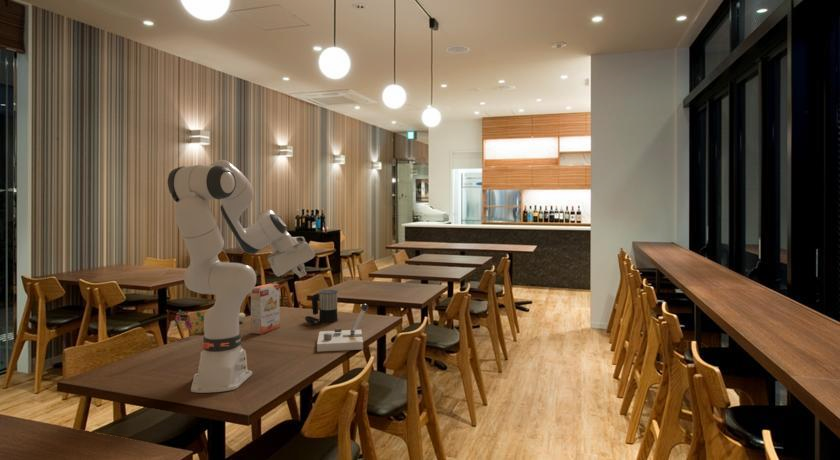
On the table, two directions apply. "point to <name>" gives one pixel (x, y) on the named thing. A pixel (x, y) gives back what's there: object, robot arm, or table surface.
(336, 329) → the rocker switch
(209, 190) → the robot arm
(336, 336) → the switch panel
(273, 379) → the table surface
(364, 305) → the toggle lever
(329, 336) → the push button
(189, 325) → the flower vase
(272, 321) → the cracker box
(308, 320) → the milk frother
